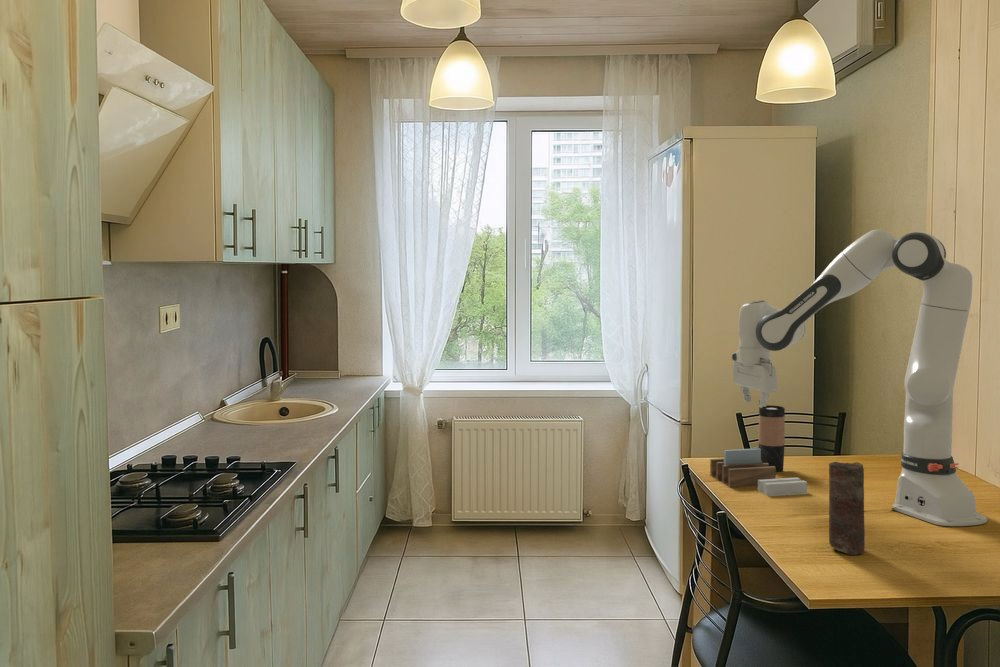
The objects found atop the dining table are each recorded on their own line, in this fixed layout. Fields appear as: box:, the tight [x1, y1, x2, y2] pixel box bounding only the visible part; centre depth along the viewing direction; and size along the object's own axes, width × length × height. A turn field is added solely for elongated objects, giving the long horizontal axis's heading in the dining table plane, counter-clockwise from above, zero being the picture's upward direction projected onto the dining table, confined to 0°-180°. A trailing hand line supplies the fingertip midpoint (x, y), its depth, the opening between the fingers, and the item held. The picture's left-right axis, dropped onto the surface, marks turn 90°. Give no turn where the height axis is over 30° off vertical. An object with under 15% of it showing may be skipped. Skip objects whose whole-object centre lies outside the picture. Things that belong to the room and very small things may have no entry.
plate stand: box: [756, 476, 809, 497], centre depth 225 cm, size 7×12×4 cm, turn 100°
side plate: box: [723, 447, 761, 465], centre depth 238 cm, size 1×11×9 cm, turn 100°
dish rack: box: [709, 457, 777, 489], centre depth 238 cm, size 14×14×6 cm
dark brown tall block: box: [828, 461, 866, 556], centre depth 181 cm, size 8×7×20 cm
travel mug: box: [758, 404, 786, 473], centre depth 251 cm, size 8×8×20 cm
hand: (754, 403), depth 236 cm, fingers open, 8 cm apart
